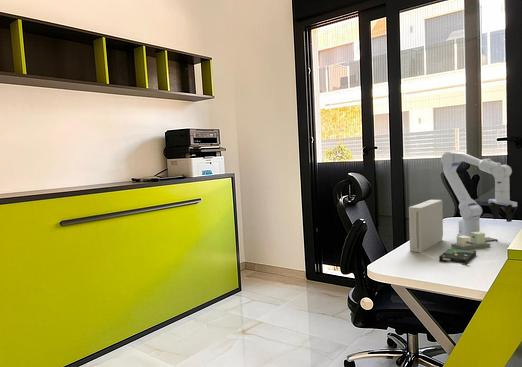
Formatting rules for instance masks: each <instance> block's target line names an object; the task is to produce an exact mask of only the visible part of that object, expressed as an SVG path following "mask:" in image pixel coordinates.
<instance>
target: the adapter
mask: <svg viewBox="0 0 522 367" xmlns="http://www.w3.org/2000/svg"><path fill="white" fill-rule="evenodd" d="M456 243H457V245H460V246H471V244H473V243H471V237H469V236H465V235H463V236H460V235H457V236H456Z"/></svg>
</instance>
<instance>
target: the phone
mask: <svg viewBox="0 0 522 367" xmlns="http://www.w3.org/2000/svg"><path fill="white" fill-rule="evenodd" d="M498 241H499V240H498V239H497V238H493V237H490V236H488V237H486V236H485V242H486V243H489V242H491V243H492V242H497V243H498Z"/></svg>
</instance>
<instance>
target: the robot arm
mask: <svg viewBox="0 0 522 367" xmlns="http://www.w3.org/2000/svg"><path fill="white" fill-rule="evenodd" d="M440 162H441V164H442V172H443V174H444V176H445V179H446V180H447V181H448V184H449V185H450V187H451V189H452V191H453V193H454V194H455V196H456V198H457V200H458V202H459V204H458V209H459V214H460V216H461V218H460V219H459V221H458V233H457V236H463V235H465V236H469V237H470V232H481V231H480V223H481V222H480V217H481V216H482V214H483V208H482V206H481V205H480V204H478V203H477V202H476V200H475V199H473V198H471V195H470V194H469V193H468V190H467V189H466V187H465V185H464V184H463V181H462V179H461V178H460V177H459V174H458V172H457V169H458V167H459V166H460V164H462V163H463V162H464V163H467V164H470V165H473V166H476V167H478V169H479V170H480V171H483V172H485V173H487V174H490V175H492V176H493V178H494V198H489V199H488V204H487V207H488V208H489V209H490V211H491V215H492V218H493V220H498V219H499V217H500V209H501V205H502V206H503V209H504V212H505V219H506V220H505V221H506V223H507V222H508V223H510V222H512V220H513V218H514V215H515V212H516V211H517V210H518V202H517V201H514V200H513V201H512V200H510V199H511V196H510V193H511V192H510V188H511V187H510V186H511V185H510V176H511V175H512V173H513V170H512V167H511V166H509V165H508V164H502V163H501V162H496V161H494V160H492V159H491V158H484V159H480V158H478V157H475V156H472V155H471V154H468V153H466V152H463V151H460V150H456V151H446V152H444V153H443V154H441V159H440Z"/></svg>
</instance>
